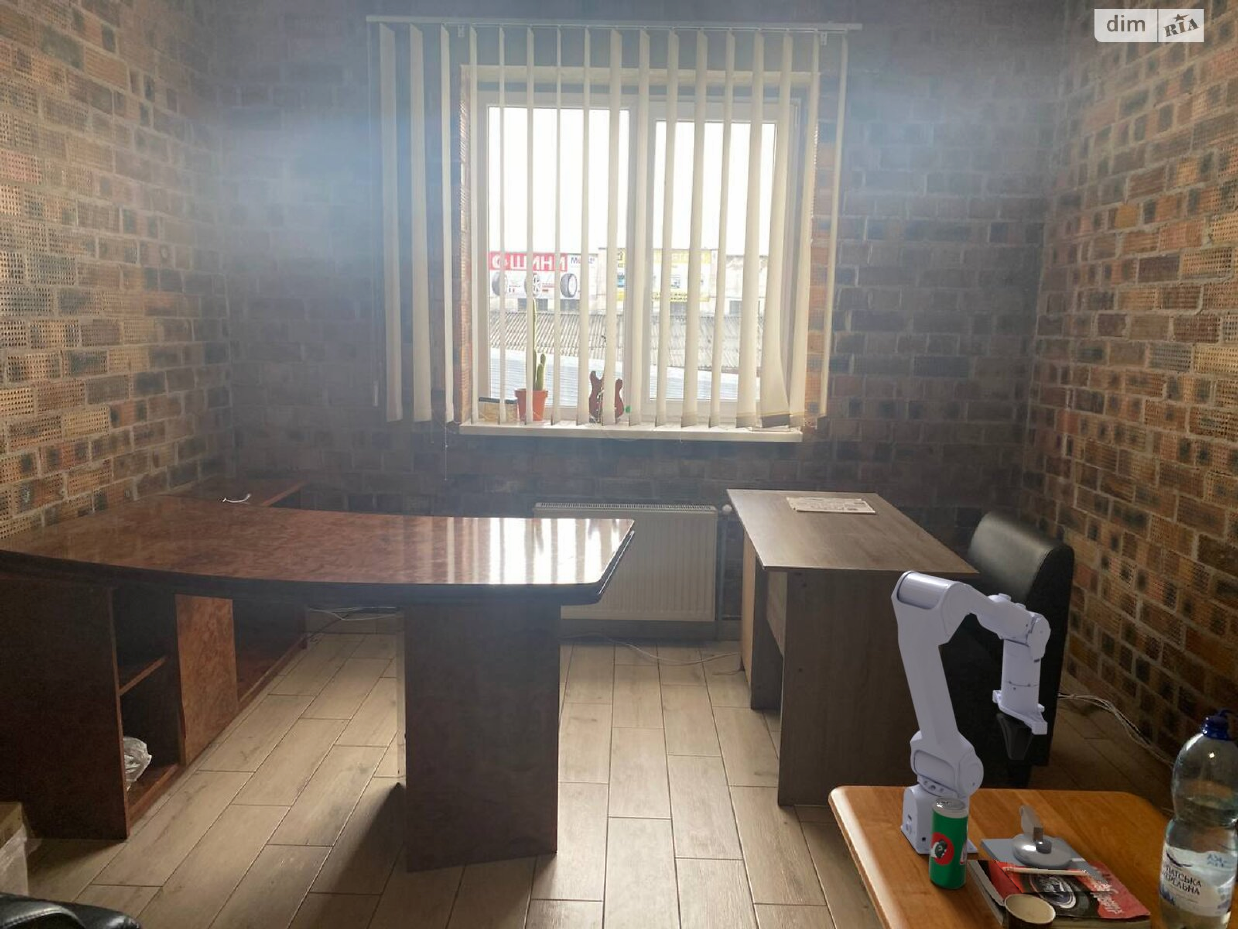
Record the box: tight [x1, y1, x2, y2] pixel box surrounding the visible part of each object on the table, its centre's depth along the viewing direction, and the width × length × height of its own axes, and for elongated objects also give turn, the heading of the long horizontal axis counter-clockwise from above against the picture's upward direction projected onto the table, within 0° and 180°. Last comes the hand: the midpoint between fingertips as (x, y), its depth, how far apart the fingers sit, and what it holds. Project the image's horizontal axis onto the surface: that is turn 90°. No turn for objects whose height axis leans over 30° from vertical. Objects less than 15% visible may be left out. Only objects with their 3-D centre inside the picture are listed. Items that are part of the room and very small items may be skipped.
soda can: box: [928, 797, 970, 890], centre depth 130 cm, size 5×5×12 cm
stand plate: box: [980, 837, 1111, 886], centre depth 134 cm, size 13×13×1 cm
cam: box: [1012, 804, 1071, 870], centre depth 138 cm, size 14×8×4 cm, turn 169°
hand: (1015, 758), depth 151 cm, fingers closed
